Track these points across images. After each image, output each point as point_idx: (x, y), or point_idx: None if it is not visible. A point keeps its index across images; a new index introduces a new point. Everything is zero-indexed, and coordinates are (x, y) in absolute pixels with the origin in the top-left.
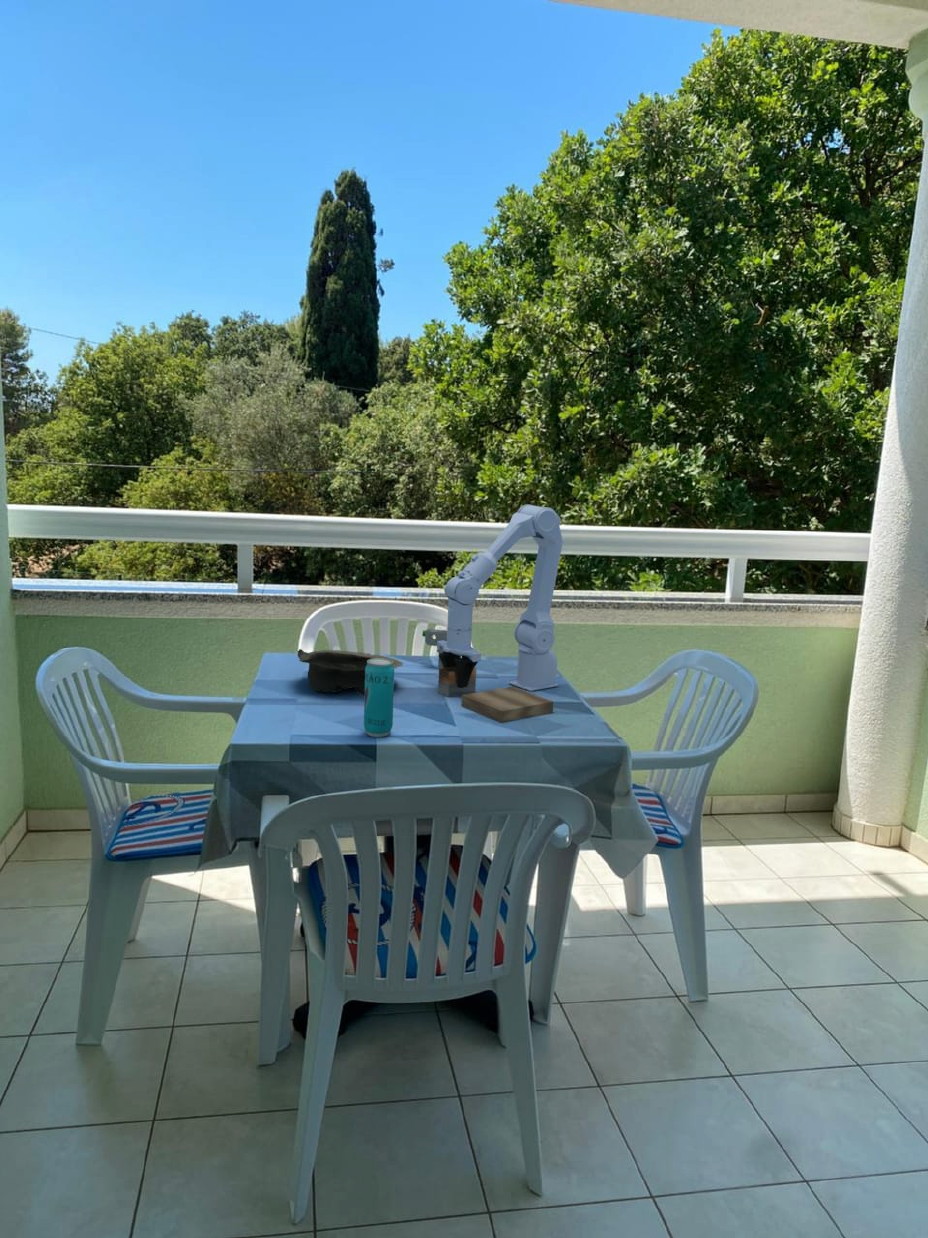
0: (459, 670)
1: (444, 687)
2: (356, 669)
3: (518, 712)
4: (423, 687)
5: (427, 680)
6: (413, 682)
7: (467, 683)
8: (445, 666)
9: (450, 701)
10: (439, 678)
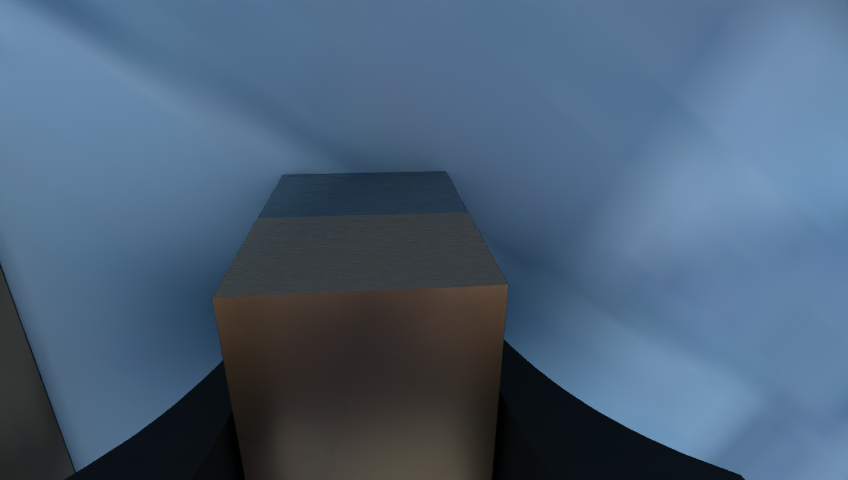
0: (148, 449)
1: (344, 197)
2: None
3: None
4: (661, 159)
5: (778, 301)
6: (826, 171)
7: None
8: (528, 410)
9: (143, 111)
10: (456, 223)
